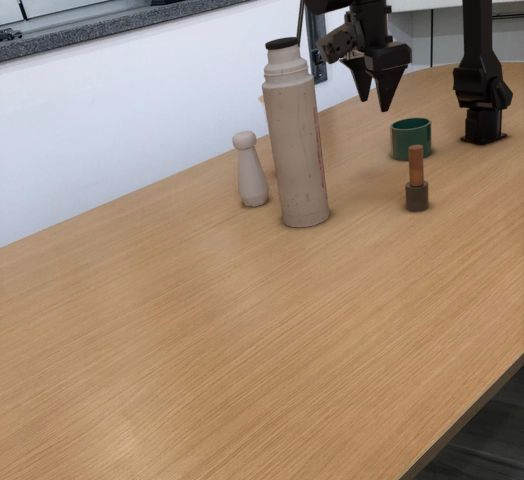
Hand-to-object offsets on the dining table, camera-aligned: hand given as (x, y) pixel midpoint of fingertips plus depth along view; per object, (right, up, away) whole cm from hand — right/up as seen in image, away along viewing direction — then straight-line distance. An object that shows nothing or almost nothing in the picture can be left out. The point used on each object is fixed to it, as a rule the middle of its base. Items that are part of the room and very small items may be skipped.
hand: (374, 106), depth 101 cm
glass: (-12, -4, +24) cm, 27 cm away
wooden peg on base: (+7, -17, -2) cm, 19 cm away
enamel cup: (+11, -1, +20) cm, 23 cm away
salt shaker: (-20, -13, +13) cm, 27 cm away
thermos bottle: (-11, -18, +3) cm, 22 cm away
